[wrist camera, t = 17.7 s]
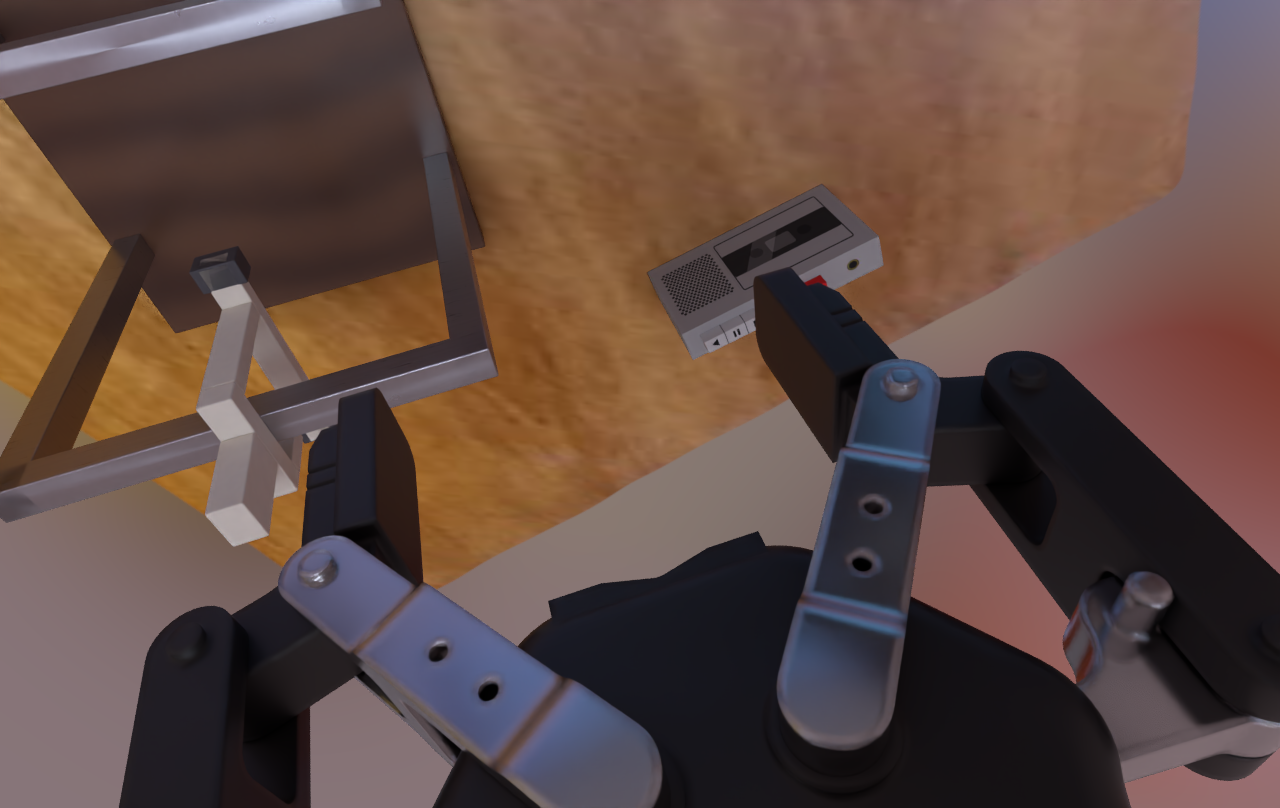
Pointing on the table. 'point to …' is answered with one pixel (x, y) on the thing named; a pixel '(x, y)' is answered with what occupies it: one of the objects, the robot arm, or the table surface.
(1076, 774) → the robot arm
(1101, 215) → the table surface
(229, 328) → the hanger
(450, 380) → the rack
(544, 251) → the table surface
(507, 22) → the table surface
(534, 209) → the table surface
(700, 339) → the cassette player
